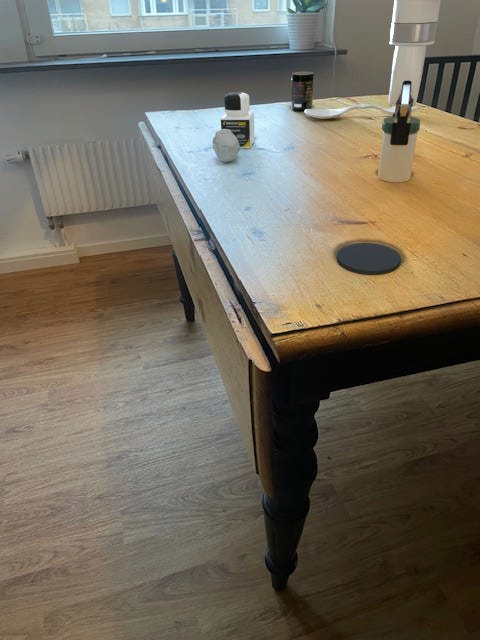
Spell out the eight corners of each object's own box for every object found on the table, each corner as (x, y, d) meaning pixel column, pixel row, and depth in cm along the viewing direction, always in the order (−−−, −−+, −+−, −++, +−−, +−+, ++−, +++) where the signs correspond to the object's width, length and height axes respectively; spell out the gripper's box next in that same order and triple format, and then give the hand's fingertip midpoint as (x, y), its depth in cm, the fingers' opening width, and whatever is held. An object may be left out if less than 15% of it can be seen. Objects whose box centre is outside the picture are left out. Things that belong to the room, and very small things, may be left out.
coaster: (393, 245, 76) (393, 241, 75) (406, 274, 68) (407, 270, 68) (333, 246, 76) (333, 243, 76) (340, 275, 69) (340, 271, 69)
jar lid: (400, 123, 100) (401, 114, 99) (426, 130, 95) (428, 120, 94) (374, 129, 98) (375, 119, 96) (399, 136, 92) (401, 126, 91)
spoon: (419, 118, 142) (421, 105, 140) (305, 123, 143) (306, 110, 141) (410, 111, 149) (412, 99, 147) (302, 115, 150) (303, 103, 148)
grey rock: (231, 155, 119) (230, 124, 115) (245, 162, 114) (244, 130, 110) (208, 160, 117) (206, 128, 113) (222, 167, 112) (220, 135, 108)
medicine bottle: (222, 148, 124) (218, 96, 118) (227, 140, 130) (225, 90, 124) (250, 148, 123) (248, 96, 116) (254, 141, 129) (253, 90, 122)
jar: (406, 171, 104) (414, 118, 98) (413, 182, 99) (422, 126, 93) (375, 172, 104) (381, 119, 98) (380, 182, 99) (387, 127, 93)
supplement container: (315, 107, 159) (316, 71, 153) (308, 112, 154) (310, 75, 148) (295, 107, 162) (295, 71, 156) (288, 111, 156) (288, 74, 151)
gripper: (391, 30, 95) (380, 128, 105) (389, 40, 81) (377, 151, 91) (433, 29, 93) (418, 129, 103) (438, 39, 80) (420, 152, 90)
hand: (399, 138), depth 97 cm, fingers closed on jar lid, 6 cm apart
